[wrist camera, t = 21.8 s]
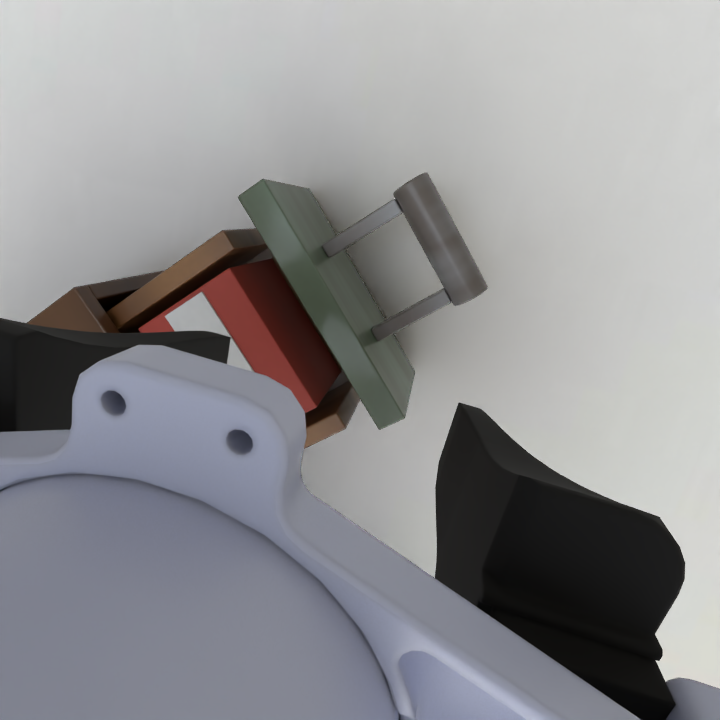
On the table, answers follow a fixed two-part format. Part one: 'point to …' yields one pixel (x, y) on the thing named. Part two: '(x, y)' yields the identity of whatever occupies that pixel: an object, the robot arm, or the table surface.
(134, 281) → the cabinet
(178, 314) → the foil carton
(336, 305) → the drawer
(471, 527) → the robot arm
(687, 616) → the table surface
